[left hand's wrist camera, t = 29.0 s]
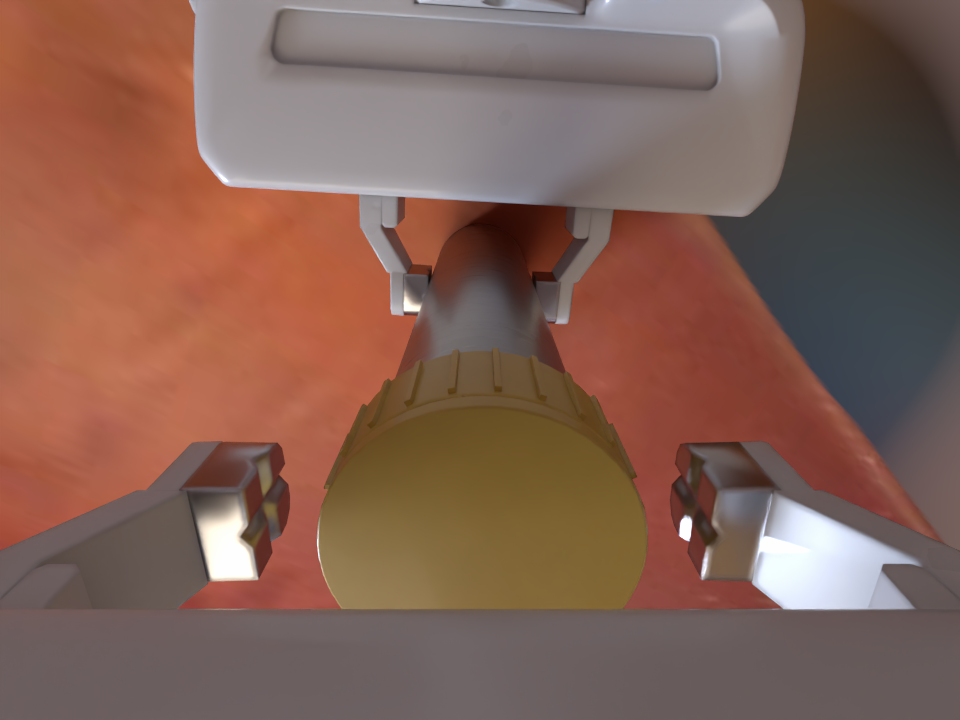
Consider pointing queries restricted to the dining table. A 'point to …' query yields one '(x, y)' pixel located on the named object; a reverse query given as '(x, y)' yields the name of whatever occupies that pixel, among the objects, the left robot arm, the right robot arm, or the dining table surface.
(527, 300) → the grey metal cylinder
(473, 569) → the lid
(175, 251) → the dining table surface
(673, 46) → the right robot arm
